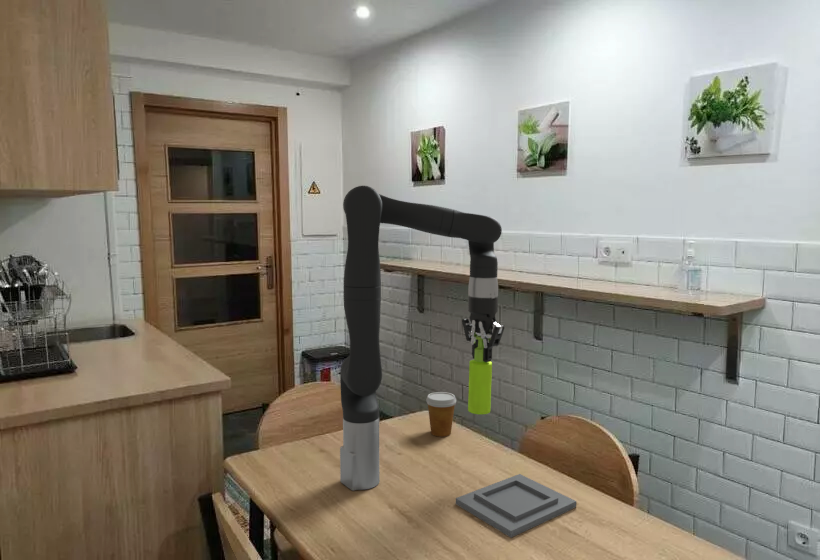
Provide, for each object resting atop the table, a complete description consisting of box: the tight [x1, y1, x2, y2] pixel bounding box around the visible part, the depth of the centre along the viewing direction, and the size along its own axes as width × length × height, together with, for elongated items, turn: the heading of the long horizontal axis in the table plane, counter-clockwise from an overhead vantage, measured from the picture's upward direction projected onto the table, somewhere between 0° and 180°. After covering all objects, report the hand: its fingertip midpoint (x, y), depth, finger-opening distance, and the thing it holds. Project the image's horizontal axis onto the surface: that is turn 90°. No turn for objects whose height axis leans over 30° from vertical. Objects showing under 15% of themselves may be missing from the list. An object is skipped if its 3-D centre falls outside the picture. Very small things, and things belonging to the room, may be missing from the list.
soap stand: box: [455, 473, 577, 538], centre depth 139 cm, size 22×18×2 cm
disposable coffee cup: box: [425, 391, 457, 438], centre depth 184 cm, size 10×10×12 cm
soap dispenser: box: [467, 336, 493, 415], centre depth 152 cm, size 6×7×20 cm
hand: (481, 359), depth 152 cm, fingers closed on soap dispenser, 3 cm apart
